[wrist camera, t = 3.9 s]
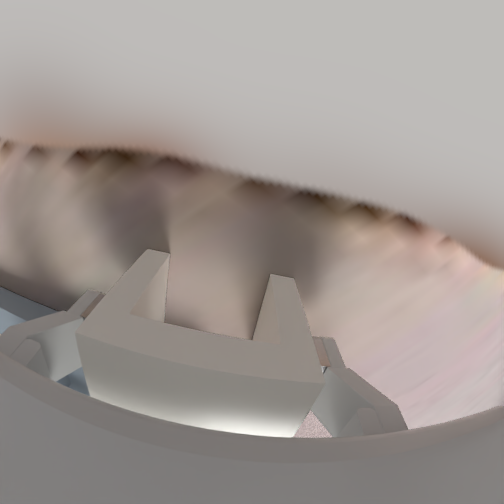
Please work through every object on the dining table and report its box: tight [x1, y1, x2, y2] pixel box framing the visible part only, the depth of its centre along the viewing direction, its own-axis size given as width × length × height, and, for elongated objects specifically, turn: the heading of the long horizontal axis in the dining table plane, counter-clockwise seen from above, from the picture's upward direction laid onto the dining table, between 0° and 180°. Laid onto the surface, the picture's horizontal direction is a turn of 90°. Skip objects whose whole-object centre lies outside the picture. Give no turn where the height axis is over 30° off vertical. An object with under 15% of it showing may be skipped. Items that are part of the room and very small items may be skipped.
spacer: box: [75, 249, 326, 437], centre depth 8 cm, size 4×6×5 cm, turn 78°
